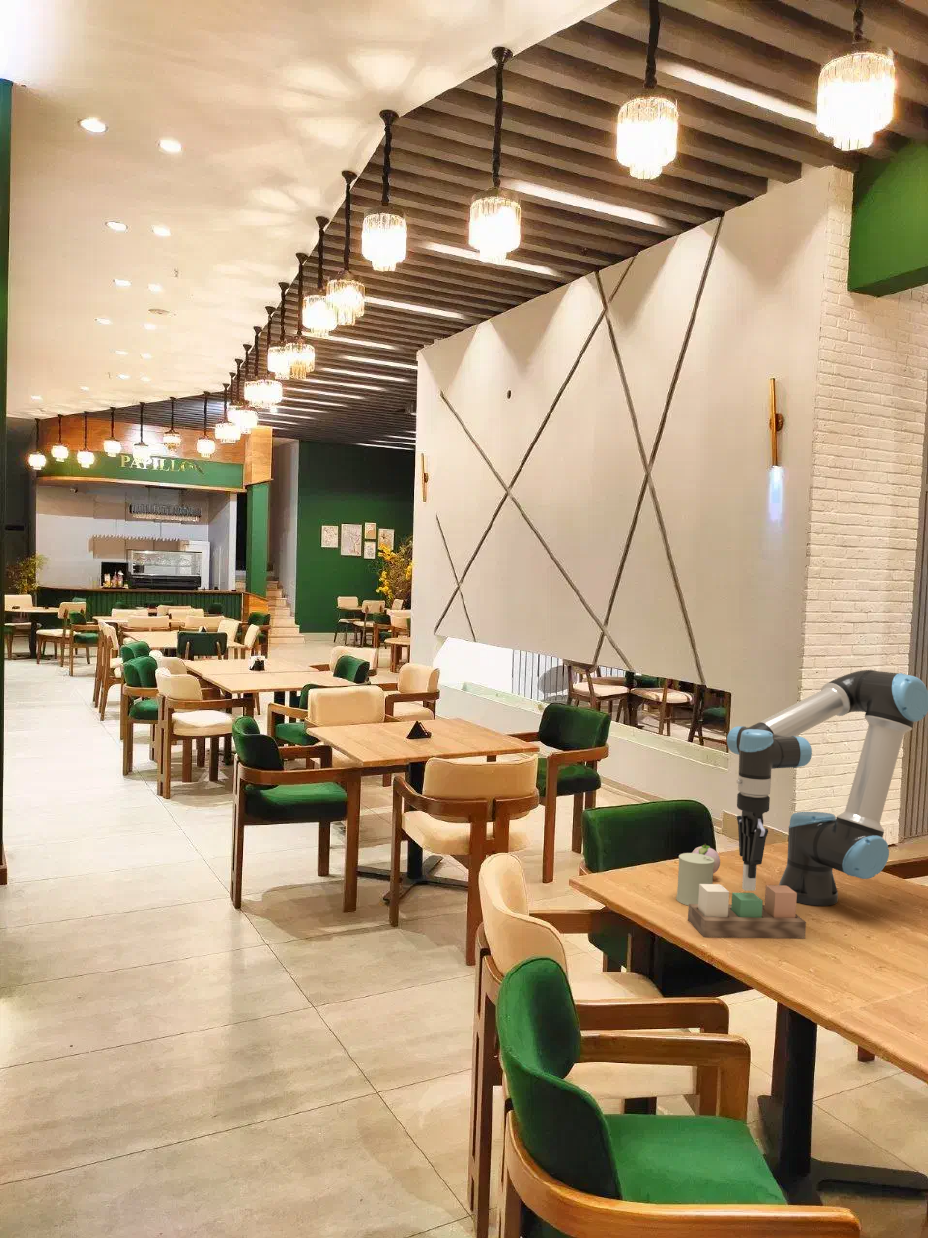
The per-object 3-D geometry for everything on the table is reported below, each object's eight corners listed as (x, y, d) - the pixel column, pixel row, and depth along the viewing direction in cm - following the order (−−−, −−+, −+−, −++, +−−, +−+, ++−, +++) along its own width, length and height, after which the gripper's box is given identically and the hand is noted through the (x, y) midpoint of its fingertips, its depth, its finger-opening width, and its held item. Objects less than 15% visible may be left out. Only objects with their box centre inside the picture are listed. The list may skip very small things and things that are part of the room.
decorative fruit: (719, 885, 248) (721, 850, 248) (689, 881, 250) (691, 846, 250) (719, 875, 257) (721, 841, 257) (690, 871, 259) (692, 837, 259)
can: (713, 909, 229) (716, 863, 228) (676, 905, 230) (679, 859, 230) (710, 897, 238) (713, 853, 237) (675, 893, 239) (678, 849, 239)
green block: (751, 921, 219) (753, 893, 218) (760, 929, 213) (762, 900, 213) (730, 920, 218) (732, 892, 218) (739, 929, 213) (741, 900, 212)
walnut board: (784, 921, 222) (785, 905, 222) (805, 938, 211) (806, 922, 211) (687, 919, 220) (688, 904, 220) (703, 937, 209) (704, 920, 209)
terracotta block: (784, 913, 219) (786, 885, 219) (795, 921, 214) (796, 893, 214) (764, 913, 219) (765, 885, 219) (773, 921, 213) (775, 892, 213)
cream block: (718, 912, 218) (720, 884, 217) (727, 920, 212) (729, 891, 212) (697, 912, 217) (699, 884, 217) (705, 920, 212) (707, 891, 212)
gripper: (728, 787, 221) (723, 880, 222) (749, 800, 208) (744, 899, 209) (757, 787, 221) (752, 880, 222) (780, 800, 208) (775, 899, 209)
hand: (748, 889), depth 215 cm, fingers closed
